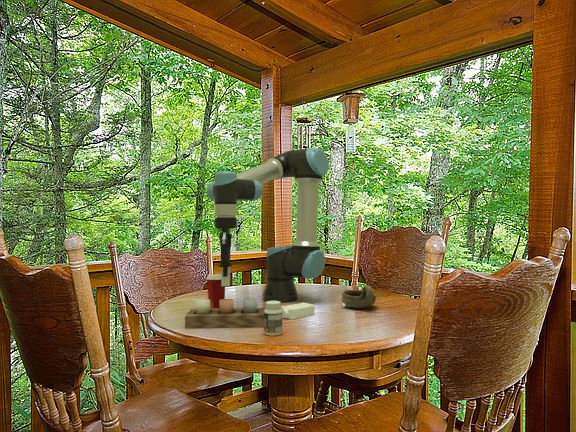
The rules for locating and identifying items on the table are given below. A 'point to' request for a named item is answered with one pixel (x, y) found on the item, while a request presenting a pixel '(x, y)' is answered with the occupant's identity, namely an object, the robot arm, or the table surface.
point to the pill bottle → (273, 318)
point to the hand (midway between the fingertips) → (225, 285)
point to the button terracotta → (226, 306)
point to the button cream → (203, 306)
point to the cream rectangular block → (297, 310)
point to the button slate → (249, 305)
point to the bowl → (359, 297)
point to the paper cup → (215, 290)
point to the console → (225, 319)
